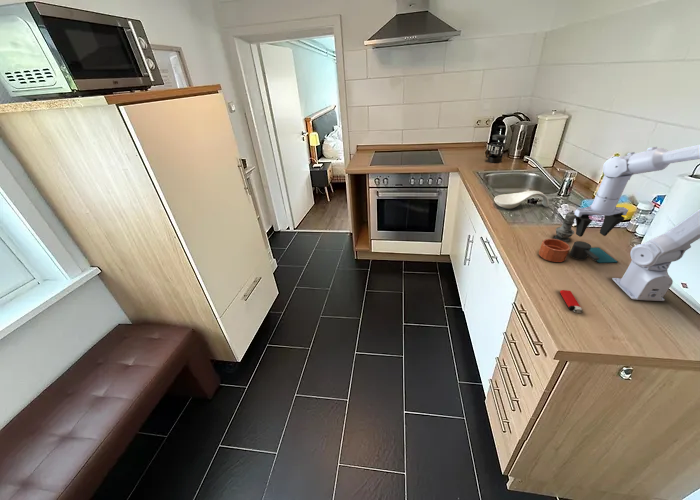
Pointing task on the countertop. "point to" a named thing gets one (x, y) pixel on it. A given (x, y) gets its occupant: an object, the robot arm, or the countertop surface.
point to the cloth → (602, 256)
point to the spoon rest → (518, 199)
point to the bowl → (554, 250)
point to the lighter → (571, 301)
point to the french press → (496, 158)
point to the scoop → (582, 251)
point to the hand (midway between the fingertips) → (590, 234)
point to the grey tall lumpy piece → (565, 228)
